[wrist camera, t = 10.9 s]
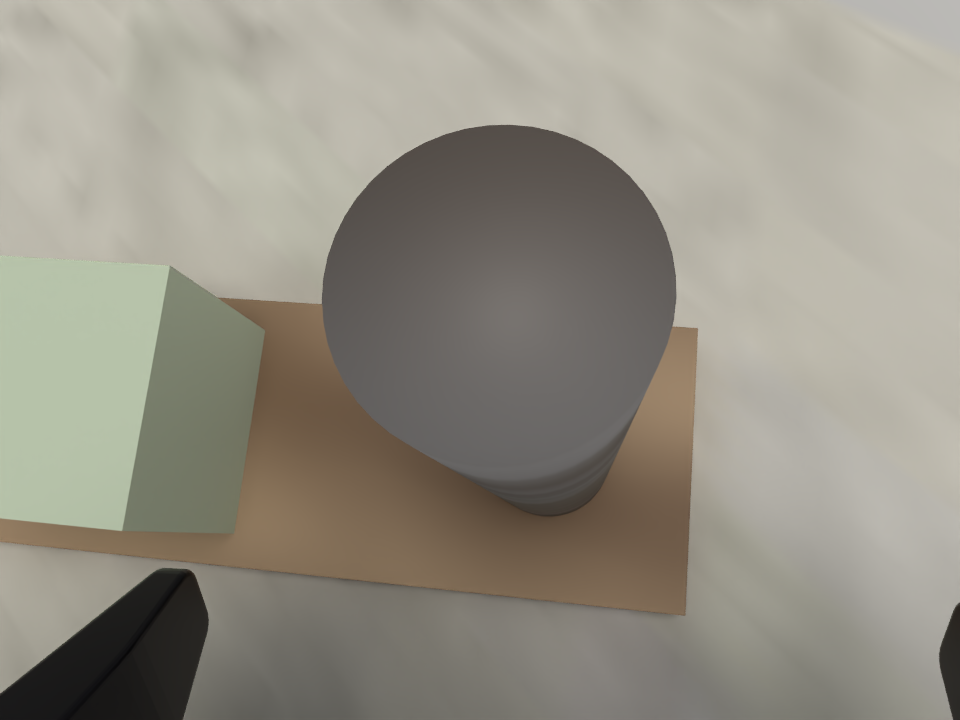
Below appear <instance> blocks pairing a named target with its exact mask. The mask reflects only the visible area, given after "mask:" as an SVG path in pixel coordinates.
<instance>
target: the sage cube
mask: <svg viewBox="0 0 960 720" xmlns="http://www.w3.org/2000/svg"><path fill="white" fill-rule="evenodd" d="M264 335H265V330H264V329H263V328H261V327H260V326H258V325H257V324H255V323H254V322H252V321H251V320H249V319H248V318H246V317H245V316H243V315H242V314H240V313H239V312H238V311H236V310H235V309H233V308H232V307H230V306H229V305H227V304H226V303H224V302H223V301H221V300H220V299H218V298H217V297H215V296H214V295H213V294H211V293H210V292H208V291H207V290H205V289H204V288H202V287H201V286H199V285H198V284H196V283H195V282H193V281H192V280H190V279H189V278H187V277H186V276H185V275H183V274H182V273H180V272H179V271H177V270H176V269H174V268H173V267H171V266H168V265H151V264H134V263H117V262H100V261H83V260H66V259H49V258H32V257H15V256H0V518H2V519H11V520H21V521H31V522H40V523H50V524H59V525H69V526H79V527H88V528H98V529H107V530H117V531H143V532H186V533H230V534H234V531H235V524H236V518H237V511H238V505H239V498H240V492H241V485H242V478H243V472H244V465H245V459H246V452H247V446H248V439H249V433H250V426H251V420H252V413H253V407H254V400H255V394H256V387H257V381H258V374H259V368H260V361H261V355H262V348H263V342H264Z"/></svg>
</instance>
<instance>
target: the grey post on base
mask: <svg viewBox="0 0 960 720" xmlns="http://www.w3.org/2000/svg"><path fill="white" fill-rule="evenodd" d="M218 299H220V300H221V301H223V302H224V303H226V304H227V305H229V306H230V307H232V308H233V309H235V310H236V311H238V312H239V313H240V314H242V315H243V316H245V317H246V318H248V319H249V320H251V321H252V322H254V323H255V324H257V325H258V326H260V327H261V328H263V329H264V330H265V335H264V342H263V348H262V355H261V361H260V368H259V374H258V381H257V387H256V394H255V400H254V407H253V413H252V420H251V426H250V433H249V439H248V446H247V452H246V459H245V465H244V472H243V478H242V485H241V492H240V498H239V505H238V511H237V518H236V524H235V531H234V534H230V533H186V532H143V531H117V530H107V529H98V528H88V527H79V526H69V525H59V524H50V523H40V522H31V521H21V520H11V519H2V518H0V542H8V543H17V544H26V545H36V546H45V547H54V548H63V549H73V550H82V551H91V552H100V553H110V554H119V555H128V556H138V557H147V558H156V559H165V560H175V561H184V562H193V563H202V564H212V565H221V566H230V567H239V568H249V569H258V570H267V571H276V572H286V573H295V574H304V575H313V576H323V577H332V578H341V579H350V580H360V581H369V582H378V583H387V584H397V585H406V586H415V587H424V588H434V589H443V590H452V591H461V592H471V593H480V594H489V595H498V596H508V597H517V598H526V599H535V600H545V601H554V602H563V603H572V604H582V605H591V606H600V607H610V608H619V609H628V610H637V611H647V612H656V613H665V614H674V615H684V616H685V610H686V587H687V564H688V541H689V519H690V496H691V473H692V450H693V427H694V405H695V382H696V359H697V336H698V328H685V327H672V325H673V321H674V313H675V304H676V274H675V268H674V262H673V256H672V251H671V248H670V245H669V242H668V238H667V235H666V232H665V230H664V228H663V225H662V223H661V221H660V219H659V217H658V215H657V213H656V211H655V209H654V208H653V206H652V205H651V203H650V201H649V200H648V198H647V197H646V195H645V194H644V192H643V191H642V190H641V189H640V188H639V187H638V185H637V184H636V183H635V182H634V181H633V180H632V178H631V177H630V176H629V175H628V174H627V173H625V172H624V171H623V170H622V169H621V168H620V167H619V166H618V165H616V164H615V163H614V162H613V161H612V160H610V159H609V158H607V157H606V156H604V155H603V154H601V153H600V152H598V151H597V150H595V149H594V148H592V147H590V146H588V145H586V144H584V143H582V142H580V141H578V140H576V139H573V138H571V137H568V136H565V135H562V134H559V133H556V132H553V131H549V130H544V129H540V128H535V127H528V126H517V125H489V126H482V127H475V128H468V129H464V130H460V131H456V132H453V133H449V134H445V135H443V136H440V137H438V138H435V139H433V140H431V141H428V142H426V143H424V144H422V145H420V146H418V147H416V148H414V149H413V150H411V151H409V152H407V153H405V154H404V155H403V156H401V157H400V158H398V159H397V160H396V161H394V162H393V163H391V164H390V165H389V166H387V167H386V168H385V169H384V170H383V171H382V172H381V173H380V174H379V175H377V176H376V177H375V178H374V179H373V180H372V181H371V182H370V183H369V184H368V186H367V187H366V188H365V189H364V190H363V191H362V193H361V194H360V195H359V196H358V197H357V199H356V200H355V202H354V203H353V205H352V206H351V208H350V209H349V211H348V212H347V214H346V215H345V217H344V219H343V221H342V223H341V225H340V227H339V229H338V231H337V233H336V235H335V238H334V240H333V243H332V246H331V249H330V252H329V255H328V259H327V264H326V268H325V273H324V278H323V292H322V304H307V303H292V302H276V301H260V300H245V299H229V298H218Z"/></svg>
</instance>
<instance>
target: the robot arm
mask: <svg viewBox="0 0 960 720" xmlns="http://www.w3.org/2000/svg"><path fill="white" fill-rule="evenodd" d="M208 623H209V619H208V612H207V609H206V606H205V603H204V600H203V597H202V594H201V591H200V588H199V585H198V582H197V579H196V577H195V575H194V573H193V572H192V571H190V570H188V569H172V568H162V569H159V570H156V571H155V572H153V573H152V574H150V575H149V576H148V577H147V578H145V579H144V580H143V581H142V582H140V583H139V584H138V585H137V586H135V587H134V588H133V589H132V590H130V591H129V592H128V593H127V594H125V595H124V596H123V597H121V598H120V599H119V600H118V601H116V602H115V603H114V604H113V605H111V606H110V607H109V608H108V609H106V610H105V611H104V612H103V613H101V614H100V615H99V616H98V617H96V618H95V619H94V620H93V621H91V622H90V623H89V624H87V625H86V626H85V627H84V628H82V629H81V630H80V631H79V632H77V633H76V634H75V635H74V636H72V637H71V638H70V639H69V640H67V641H66V642H65V643H64V644H62V645H61V646H60V647H59V648H57V649H56V650H55V651H53V652H52V653H51V654H50V655H48V656H47V657H46V658H45V659H43V660H42V661H41V662H40V663H38V664H37V665H36V666H35V667H33V668H32V669H31V670H30V671H28V672H27V673H26V674H25V675H23V676H22V677H21V678H19V679H18V680H17V681H16V682H14V683H13V684H12V685H11V686H9V687H8V688H7V689H6V690H4V691H3V692H2V693H1V694H0V720H183V717H184V713H185V710H186V706H187V703H188V699H189V696H190V692H191V688H192V685H193V681H194V678H195V674H196V671H197V667H198V664H199V660H200V657H201V653H202V649H203V646H204V642H205V639H206V635H207V631H208ZM939 662H940V669H941V673H942V677H943V681H944V685H945V689H946V693H947V697H948V701H949V705H950V709H951V713H952V717H953V720H960V603H958V604H957V605H956V607H955V609H954V611H953V613H952V616H951V619H950V622H949V624H948V627H947V630H946V633H945V635H944V638H943V641H942V644H941V647H940V653H939Z"/></svg>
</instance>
